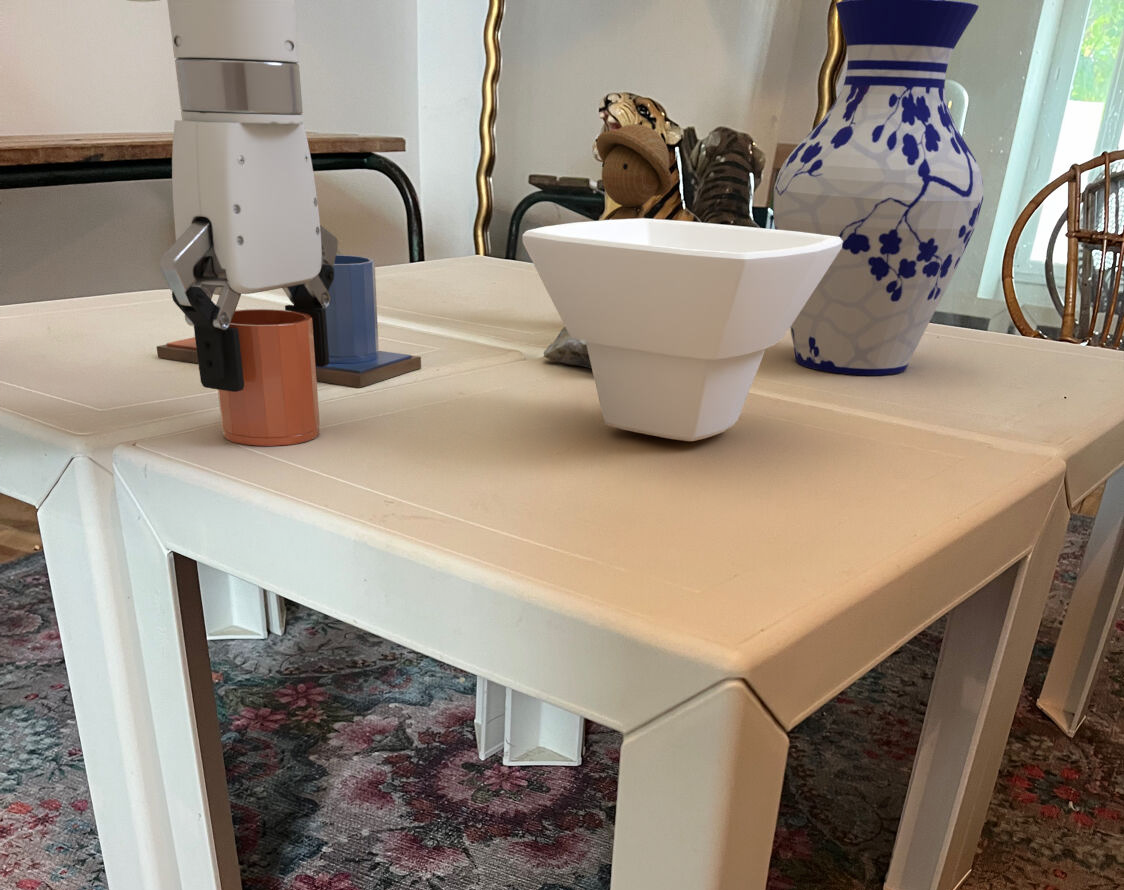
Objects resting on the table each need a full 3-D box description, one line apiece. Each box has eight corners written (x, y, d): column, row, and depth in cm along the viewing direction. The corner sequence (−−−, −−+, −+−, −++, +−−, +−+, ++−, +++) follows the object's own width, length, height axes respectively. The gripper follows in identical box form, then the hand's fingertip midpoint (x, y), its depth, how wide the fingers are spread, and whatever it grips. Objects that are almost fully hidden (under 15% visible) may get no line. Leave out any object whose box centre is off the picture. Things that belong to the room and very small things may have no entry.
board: (157, 357, 103) (155, 343, 102) (229, 341, 111) (227, 328, 110) (360, 387, 95) (359, 373, 95) (421, 367, 103) (421, 354, 102)
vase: (973, 364, 114) (1046, 13, 99) (910, 394, 101) (985, -8, 86) (800, 339, 123) (844, 14, 108) (721, 364, 110) (759, -5, 95)
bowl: (623, 393, 97) (634, 215, 90) (836, 431, 88) (866, 237, 81) (495, 436, 83) (496, 230, 76) (732, 486, 74) (758, 258, 67)
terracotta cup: (202, 437, 80) (188, 318, 76) (263, 417, 85) (252, 305, 81) (281, 451, 78) (270, 329, 74) (338, 430, 83) (330, 315, 79)
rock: (531, 347, 107) (598, 264, 107) (570, 388, 111) (635, 309, 110) (587, 370, 99) (661, 280, 98) (627, 414, 103) (698, 328, 102)
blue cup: (285, 357, 99) (277, 259, 95) (330, 346, 104) (324, 252, 100) (350, 367, 97) (344, 266, 93) (392, 354, 102) (389, 259, 98)
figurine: (572, 326, 125) (581, 121, 115) (620, 321, 129) (632, 123, 119) (628, 340, 119) (641, 125, 109) (675, 334, 123) (693, 126, 113)
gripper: (277, 97, 79) (298, 351, 87) (93, 91, 65) (139, 392, 74) (367, 100, 76) (380, 361, 85) (195, 95, 63) (231, 407, 71)
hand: (268, 375), depth 79 cm, fingers open, 9 cm apart
